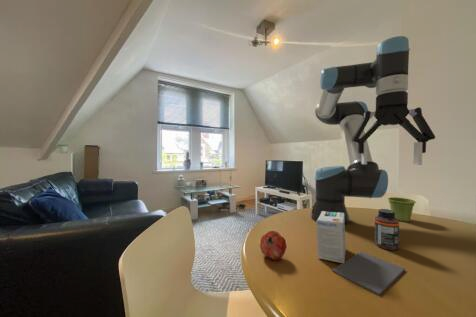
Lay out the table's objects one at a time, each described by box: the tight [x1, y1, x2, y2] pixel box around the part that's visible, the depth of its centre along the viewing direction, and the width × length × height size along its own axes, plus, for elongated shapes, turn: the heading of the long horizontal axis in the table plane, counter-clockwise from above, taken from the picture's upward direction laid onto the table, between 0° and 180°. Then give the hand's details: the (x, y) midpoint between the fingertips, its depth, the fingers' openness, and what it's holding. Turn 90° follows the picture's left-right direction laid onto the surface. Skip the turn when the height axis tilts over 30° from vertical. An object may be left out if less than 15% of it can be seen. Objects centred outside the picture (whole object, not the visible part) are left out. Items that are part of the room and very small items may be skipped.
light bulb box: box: [316, 211, 347, 264], centre depth 56 cm, size 11×7×11 cm, turn 149°
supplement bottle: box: [374, 208, 400, 251], centre depth 60 cm, size 6×6×11 cm
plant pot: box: [387, 196, 417, 223], centre depth 84 cm, size 9×9×9 cm
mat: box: [331, 251, 405, 296], centre depth 48 cm, size 10×15×1 cm, turn 124°
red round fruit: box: [259, 230, 287, 261], centre depth 55 cm, size 7×7×10 cm
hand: (389, 164), depth 59 cm, fingers open, 13 cm apart
